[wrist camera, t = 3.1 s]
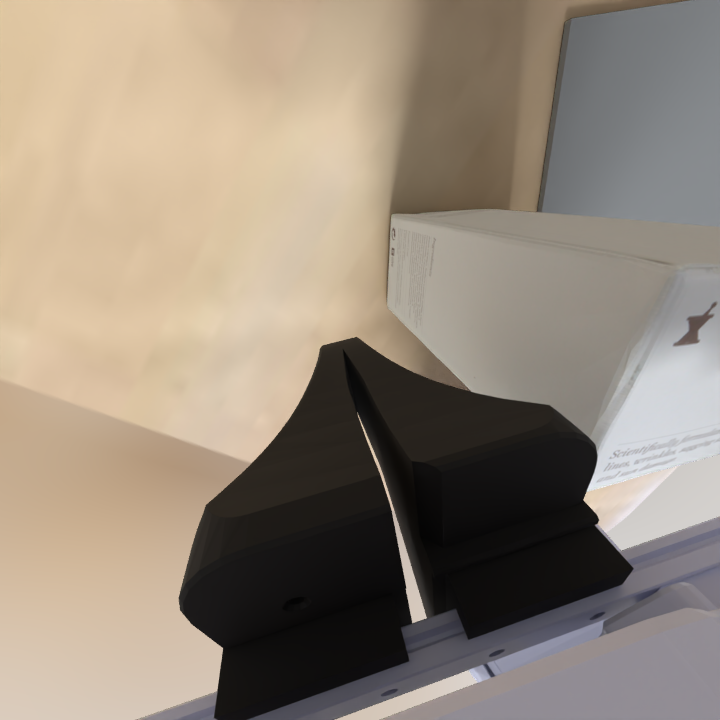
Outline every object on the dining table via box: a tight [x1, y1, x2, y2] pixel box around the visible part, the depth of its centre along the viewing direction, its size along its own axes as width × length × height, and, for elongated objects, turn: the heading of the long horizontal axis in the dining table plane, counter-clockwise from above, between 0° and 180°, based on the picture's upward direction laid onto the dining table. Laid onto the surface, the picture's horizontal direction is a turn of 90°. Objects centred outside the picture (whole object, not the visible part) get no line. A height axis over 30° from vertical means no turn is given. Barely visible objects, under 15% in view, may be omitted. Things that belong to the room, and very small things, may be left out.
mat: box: [537, 0, 720, 227], centre depth 20 cm, size 20×18×1 cm
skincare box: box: [387, 209, 720, 492], centre depth 13 cm, size 8×6×15 cm
